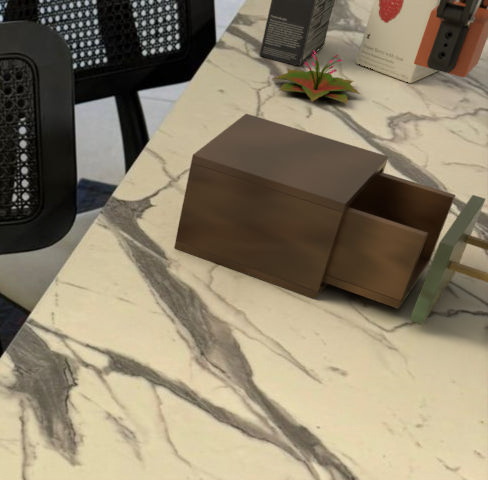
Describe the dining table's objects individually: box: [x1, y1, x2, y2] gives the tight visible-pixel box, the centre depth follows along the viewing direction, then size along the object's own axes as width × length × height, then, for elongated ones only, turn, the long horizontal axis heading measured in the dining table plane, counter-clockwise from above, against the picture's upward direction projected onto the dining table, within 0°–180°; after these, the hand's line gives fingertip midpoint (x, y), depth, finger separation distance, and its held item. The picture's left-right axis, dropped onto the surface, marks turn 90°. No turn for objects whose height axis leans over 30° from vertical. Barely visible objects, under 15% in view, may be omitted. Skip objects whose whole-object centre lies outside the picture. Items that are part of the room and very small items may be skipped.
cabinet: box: [173, 113, 389, 300], centre depth 98 cm, size 15×13×10 cm
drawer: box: [323, 172, 488, 325], centre depth 93 cm, size 19×11×8 cm, turn 57°
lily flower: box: [272, 51, 362, 105], centre depth 132 cm, size 12×12×5 cm
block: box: [414, 1, 488, 78], centre depth 86 cm, size 4×4×4 cm
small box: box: [259, 0, 336, 67], centre depth 141 cm, size 11×6×10 cm, turn 149°
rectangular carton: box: [355, 0, 459, 84], centre depth 138 cm, size 9×9×15 cm
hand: (447, 60), depth 88 cm, fingers closed on block, 4 cm apart
